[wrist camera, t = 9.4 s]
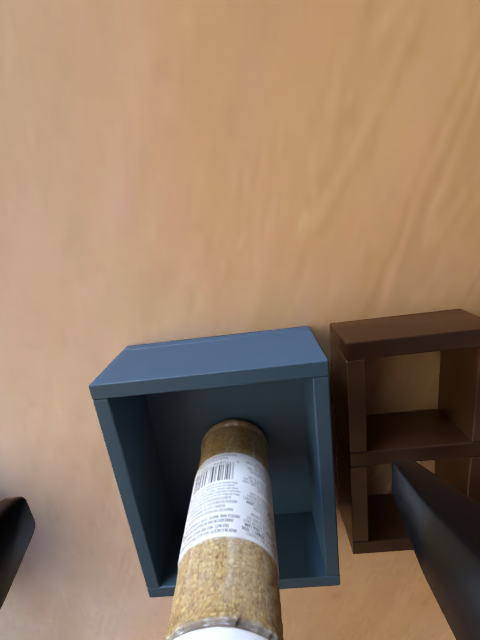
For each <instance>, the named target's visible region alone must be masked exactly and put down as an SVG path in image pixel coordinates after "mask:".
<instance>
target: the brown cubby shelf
mask: <svg viewBox="0 0 480 640" xmlns="http://www.w3.org/2000/svg"><path fill="white" fill-rule="evenodd" d="M330 336H331V356H332V376H333V396H334V416H335V431H336V432H335V436H336V457H337V477H338V497H339V510H340V513H341V516H342V520H343V523H344V526H345V529H346V532H347V535H348V539H349V542H350V545H351V548H352V551H353V554H360V553H374V552H388V551H402V550H414V549H413V546H412V544H411V541H410V539H409V536H408V534H407V531H406V528H405V526H404V523H403V521H402V518H401V516H400V513H399V511H398V508H397V505H396V503H395V500H394V497H393V494H385V495H373V496H368V485H367V465H378V464H390V463H393V461H395V460H401V459H411V460H414V461H425V460H435V475H437V476H438V477H440V478H441V479H443V480H444V481H446V482H447V483H449V484H450V485H452V486H453V487H455V488H456V489H458V490H459V491H461V492H462V493H464V494H465V495H467V496H468V497H470V498H471V499H473V500H474V501H476V502H477V503H479V504H480V317H478V316H475V315H473V314H470V313H468V312H466V311H463V310H461V309H455V310H446V311H437V312H428V313H419V314H410V315H401V316H392V317H383V318H374V319H365V320H356V321H347V322H338V323H331V324H330ZM434 351H441V363H440V382H439V400H438V409H433V410H422V411H411V412H401V413H390V414H380V415H369V416H366V372H365V359H367V358H377V357H386V356H396V355H405V354H415V353H424V352H434Z"/></svg>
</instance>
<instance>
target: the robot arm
mask: <svg viewBox="0 0 480 640" xmlns="http://www.w3.org/2000/svg"><path fill="white" fill-rule="evenodd" d="M392 493H393V497H394V500H395V503H396V505H397V508H398V511H399V513H400V516H401V518H402V521H403V523H404V526H405V528H406V531H407V534H408V536H409V539H410V541H411V544H412V546H413V549H414V551H415V554H416V557H417V559H418V562H419V564H420V566H421V569H422V571H423V574H424V576H425V578H426V580H427V582H428V584H429V586H430V588H431V590H432V592H433V594H434V596H435V598H436V600H437V602H438V604H439V606H440V608H441V610H442V612H443V614H444V616H445V618H446V620H447V622H448V624H449V626H450V628H451V630H452V632H453V634H454V636H455V638H456V640H480V504H479V503H477V502H476V501H474V500H473V499H471V498H470V497H468V496H467V495H465V494H464V493H462V492H461V491H459V490H458V489H456V488H455V487H453V486H452V485H450V484H449V483H447V482H446V481H444V480H443V479H441V478H440V477H438V476H437V475H435V474H433V473H432V472H430V471H429V470H427V469H426V468H424V467H423V466H421V465H420V464H418V463H417V462H415V461H414V460H411V459H401V460H395V461H393V463H392ZM34 529H35V521H34V518H33V516H32V513H31V511H30V508H29V506H28V503H27V501H26V499H24V498H23V497H12V498H6V499H4V500H2V501H0V609H1V607H2V605H3V603H4V601H5V598H6V596H7V594H8V592H9V589H10V587H11V585H12V582H13V580H14V578H15V575H16V573H17V571H18V568H19V566H20V564H21V561H22V559H23V556H24V554H25V552H26V549H27V547H28V545H29V542H30V540H31V538H32V535H33V533H34Z"/></svg>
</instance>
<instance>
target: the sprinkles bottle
mask: <svg viewBox="0 0 480 640" xmlns="http://www.w3.org/2000/svg"><path fill="white" fill-rule="evenodd" d="M268 452H269V446H268V443H267V439H266V437H265V435H264V434H263V432H262V431H261V430H260V429H259V428H258V427H257V426H255V425H254V424H252V423H249V422H246V421H244V420H237V419H231V420H225V421H222V422H221V423H217V424H216V425H214V426H213V427H211V428H210V429H209V430H208V431H207V433H206V434H205V436H204V438H203V440H202V444H201V459H200V463H199V469H198V471H197V473H196V477H195V481H194V486H193V491H192V496H191V501H190V506H189V511H188V516H187V520H186V525H185V531H184V535H183V541H182V545H181V550H180V555H179V561H178V575H177V582H176V588H175V592H174V597H173V603H172V608H171V615H170V620H169V624H168V631H167V636H166V639H165V640H284V639H283V624H282V619H281V604H280V594H279V585H278V581H279V568H278V556H277V544H276V534H275V523H274V513H273V501H272V489H271V481H270V477H269V467H268Z"/></svg>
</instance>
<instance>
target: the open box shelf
mask: <svg viewBox="0 0 480 640" xmlns="http://www.w3.org/2000/svg"><path fill="white" fill-rule="evenodd" d="M328 375H329V365H328V360H327V358H326V356H325V354H324V353H323V351H322V349H321V347H320V346H319V344H318V342H317V340H316V339H315V337H314V335H313V333H312V332H311V330H310V328H309V327H308V326H303V327H294V328H285V329H277V330H268V331H259V332H250V333H241V334H232V335H223V336H214V337H205V338H196V339H187V340H178V341H169V342H160V343H151V344H143V345H134V346H127V347H126V348H125V349H124V350H123V351H122V352H121V353H120V354H119V355H118V356H117V357H116V358H115V359H114V360H113V361H112V362H111V363H110V364H109V365H108V366H107V367H106V368H105V369H104V371H103V372H102V373H101V374H100V375H99V376H98V377H97V378H96V379H95V380H94V381H93V382H92V383H91V384H90V385H89V389H90V392H91V396H92V399H93V400H94V405H95V409H96V412H97V415H98V419H99V422H100V426H101V429H102V433H103V436H104V440H105V443H106V447H107V450H108V453H109V457H110V460H111V464H112V467H113V471H114V474H115V478H116V481H117V485H118V488H119V491H120V495H121V498H122V502H123V505H124V509H125V512H126V516H127V519H128V523H129V526H130V529H131V533H132V536H133V540H134V543H135V547H136V550H137V554H138V557H139V561H140V564H141V567H142V571H143V574H144V578H145V581H146V585H147V587H148V588H147V589H148V592H149V596H150V597H164V596H174V592H175V588H176V582H177V575H178V561H179V555H180V550H181V545H182V541H183V535H184V531H185V525H186V520H187V516H188V511H189V506H190V501H191V496H192V491H193V486H194V481H195V477H196V473H197V471H198V469H199V463H200V459H201V444H202V440H203V438H204V436H205V434H206V433H207V431H208V430H209V429H210V428H211V427H213V426H214V425H216V424H217V423H221V422H222V421H225V420H231V419H237V420H244V421H246V422H249V423H252V424H254V425H255V426H257V427H258V428H259V429H260V430H261V431H262V432H263V434H264V435H265V437H266V439H267V443H268V446H269V452H268V467H269V477H270V481H271V489H272V501H273V513H274V523H275V534H276V544H277V556H278V568H279V581H278V585H279V589H287V588H303V587H318V586H333V585H340V575H339V556H338V537H337V518H336V500H335V481H334V462H333V443H332V424H331V406H330V387H329V376H328Z"/></svg>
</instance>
